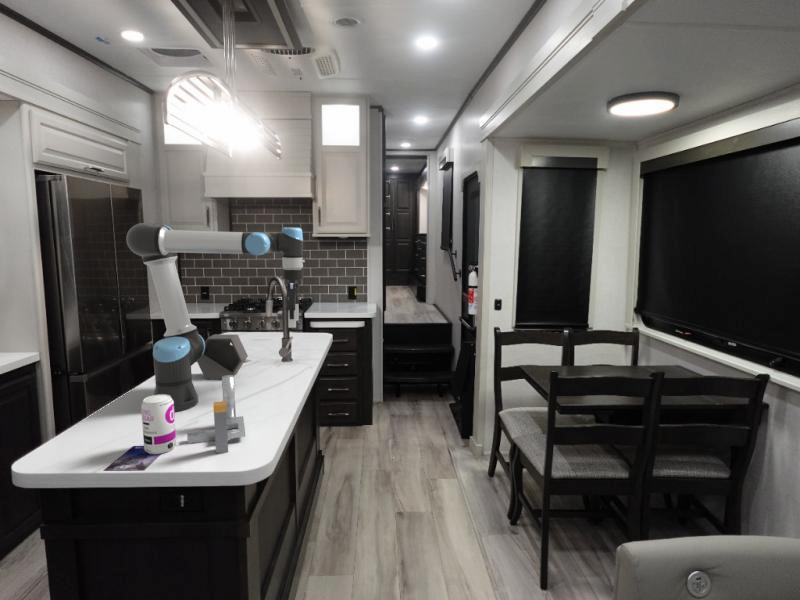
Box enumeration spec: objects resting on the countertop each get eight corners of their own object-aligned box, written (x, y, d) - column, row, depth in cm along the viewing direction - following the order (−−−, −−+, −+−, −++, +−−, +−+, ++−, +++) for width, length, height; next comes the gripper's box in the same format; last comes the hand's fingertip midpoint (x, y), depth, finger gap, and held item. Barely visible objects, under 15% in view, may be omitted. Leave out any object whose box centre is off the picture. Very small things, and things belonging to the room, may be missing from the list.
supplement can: (181, 442, 142) (177, 393, 140) (168, 455, 134) (165, 403, 132) (153, 442, 142) (149, 393, 140) (139, 455, 134) (135, 403, 132)
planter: (188, 368, 200) (213, 327, 197) (196, 362, 208) (220, 323, 205) (223, 390, 201) (248, 350, 198) (230, 384, 209) (254, 345, 206)
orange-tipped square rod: (215, 453, 135) (213, 406, 133) (216, 448, 138) (213, 402, 136) (228, 452, 136) (226, 404, 134) (228, 447, 139) (225, 400, 137)
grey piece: (186, 449, 138) (183, 395, 135) (190, 426, 154) (187, 377, 151) (245, 441, 143) (243, 389, 141) (242, 419, 159) (240, 372, 157)
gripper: (300, 271, 171) (301, 330, 174) (305, 266, 195) (305, 317, 198) (279, 271, 170) (280, 330, 173) (286, 265, 194) (286, 317, 197)
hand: (293, 323), depth 185 cm, fingers open, 13 cm apart
